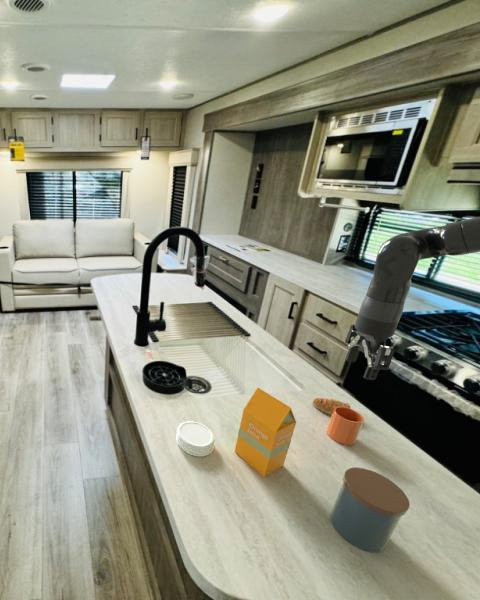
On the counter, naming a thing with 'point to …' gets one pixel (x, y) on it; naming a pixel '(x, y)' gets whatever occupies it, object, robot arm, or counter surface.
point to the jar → (368, 509)
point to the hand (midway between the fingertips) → (359, 369)
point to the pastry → (328, 405)
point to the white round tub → (195, 438)
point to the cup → (344, 425)
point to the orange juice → (265, 432)
